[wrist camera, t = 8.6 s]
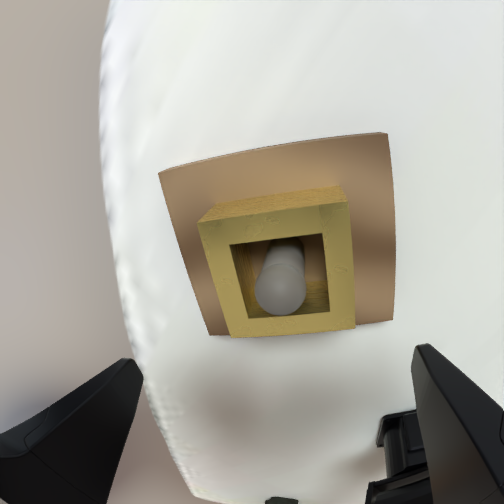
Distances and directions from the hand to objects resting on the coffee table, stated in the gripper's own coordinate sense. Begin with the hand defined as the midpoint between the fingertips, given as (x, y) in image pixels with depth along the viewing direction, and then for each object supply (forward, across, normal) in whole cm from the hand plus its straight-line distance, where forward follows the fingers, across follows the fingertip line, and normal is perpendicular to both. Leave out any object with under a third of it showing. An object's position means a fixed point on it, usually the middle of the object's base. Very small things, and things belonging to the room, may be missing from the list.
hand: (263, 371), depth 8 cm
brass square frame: (+8, 0, 0) cm, 9 cm away
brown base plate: (+10, 0, 0) cm, 10 cm away
